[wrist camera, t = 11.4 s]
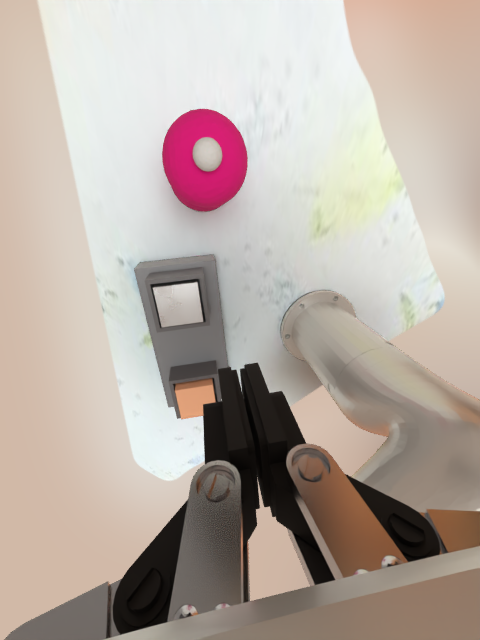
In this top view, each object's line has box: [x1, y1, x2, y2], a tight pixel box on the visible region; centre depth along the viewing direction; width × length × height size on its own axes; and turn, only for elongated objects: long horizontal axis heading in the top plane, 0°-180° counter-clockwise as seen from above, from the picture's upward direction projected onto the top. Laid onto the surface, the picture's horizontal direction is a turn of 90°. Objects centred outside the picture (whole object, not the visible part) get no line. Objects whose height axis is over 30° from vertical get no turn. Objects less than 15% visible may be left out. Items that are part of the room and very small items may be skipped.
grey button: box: [153, 279, 203, 327], centre depth 33 cm, size 5×5×3 cm
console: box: [134, 254, 228, 419], centre depth 38 cm, size 22×10×8 cm, turn 5°
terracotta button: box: [175, 378, 216, 419], centre depth 38 cm, size 5×5×3 cm
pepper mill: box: [162, 109, 247, 211], centre depth 24 cm, size 7×7×20 cm
